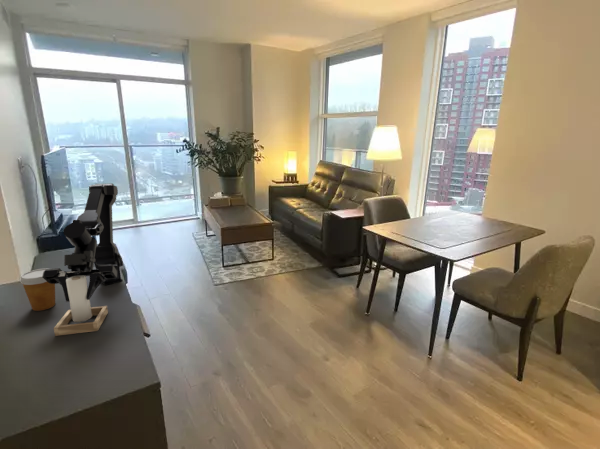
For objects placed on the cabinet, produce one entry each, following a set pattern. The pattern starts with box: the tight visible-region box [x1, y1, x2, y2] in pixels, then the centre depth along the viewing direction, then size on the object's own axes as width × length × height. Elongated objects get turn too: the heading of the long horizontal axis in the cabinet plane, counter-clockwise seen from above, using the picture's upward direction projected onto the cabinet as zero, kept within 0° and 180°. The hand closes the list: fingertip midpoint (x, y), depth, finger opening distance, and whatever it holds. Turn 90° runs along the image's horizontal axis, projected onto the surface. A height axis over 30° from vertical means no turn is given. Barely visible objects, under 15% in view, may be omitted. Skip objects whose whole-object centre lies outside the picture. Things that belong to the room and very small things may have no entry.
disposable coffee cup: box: [19, 268, 56, 312], centre depth 111 cm, size 10×10×12 cm
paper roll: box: [66, 275, 93, 323], centre depth 100 cm, size 5×5×13 cm
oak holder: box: [53, 305, 109, 337], centre depth 102 cm, size 11×11×2 cm
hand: (77, 300), depth 99 cm, fingers closed on paper roll, 5 cm apart
